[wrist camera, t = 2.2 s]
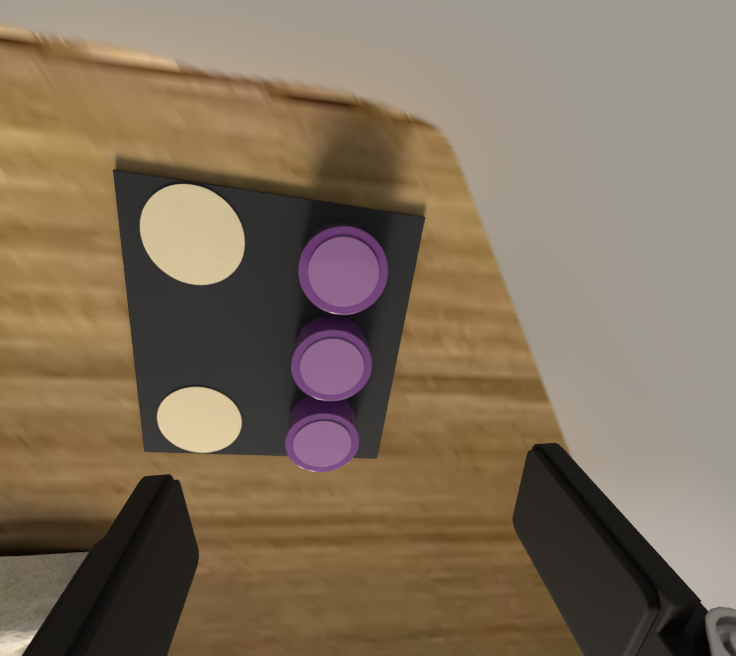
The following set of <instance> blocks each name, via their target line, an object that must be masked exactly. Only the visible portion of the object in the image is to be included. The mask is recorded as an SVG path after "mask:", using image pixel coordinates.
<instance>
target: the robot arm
mask: <svg viewBox="0 0 736 656" xmlns="http://www.w3.org/2000/svg"><path fill="white" fill-rule="evenodd" d="M513 525H514V529H515V531H516V533H517V535H518V537H519V539H520V540H521V542H522V544H523V546H524V548H525V549H526V551H527V553H528V555H529V557H530V558H531V560H532V562H533V564H534V566H535V568H536V569H537V571H538V573H539V575H540V577H541V578H542V580H543V582H544V584H545V586H546V588H547V589H548V591H549V593H550V595H551V597H552V598H553V600H554V602H555V604H556V606H557V607H558V609H559V611H560V613H561V615H562V617H563V618H564V620H565V622H566V624H567V626H568V627H569V629H570V631H571V633H572V635H573V636H574V638H575V640H576V642H577V644H578V646H579V647H580V649H581V651H582V653H583V655H584V656H736V610H735V609H732V608H725V607H717V608H713V609H710V611H709V612H708V611H707V609H706V608H705V607H704V606H703V605H702V604H701V603H700V602H701V600H700V599H699V598H698V597H697V596H696V594H695V593H694V592H693V591H692V590H691V589H690V588H689V587H688V586H687V585H686V583H685V582H684V581H683V580H682V579H681V578H680V577H679V576H678V575H677V574H676V572H675V571H674V570H673V569H672V568H671V567H670V566H669V565H668V564H667V563H666V561H665V560H664V559H663V558H662V557H661V556H660V555H659V554H658V553H657V552H656V550H655V549H654V548H653V547H652V546H651V545H650V544H649V543H648V542H647V541H646V540H645V538H644V537H643V536H642V535H641V534H640V533H639V532H638V531H637V530H636V528H635V527H634V526H633V525H632V524H631V523H630V522H629V521H628V520H627V519H626V518H625V516H624V515H623V514H622V513H621V512H620V511H619V510H618V509H617V508H616V506H615V505H614V504H613V503H612V502H611V501H610V500H609V499H608V498H607V496H605V494H604V493H603V492H602V491H601V490H600V489H599V488H598V487H597V486H596V484H595V483H594V482H593V481H592V480H591V479H590V478H589V477H588V476H587V474H586V473H585V472H584V471H583V470H582V469H581V468H580V467H579V466H578V465H577V463H576V462H575V461H574V460H573V459H572V458H571V457H570V456H569V455H568V454H567V452H566V451H565V450H564V449H563V448H562V447H561V446H560V445H559V444H557V443H546V444H535V445H534V446H533V448H532V450H529V451H528V453H527V457H526V461H525V466H524V470H523V474H522V479H521V483H520V488H519V492H518V496H517V501H516V505H515V509H514V514H513ZM198 559H199V550H198V546H197V543H196V539H195V535H194V532H193V528H192V524H191V521H190V517H189V513H188V510H187V506H186V502H185V499H184V495H183V492H182V488H181V484H180V482H179V480H174V479H173V477H172V476H171V475H170V474H167V475H154V476H145V477H143V478H142V479H141V480H140V482H139V483H138V485H137V486H136V488H135V489H134V491H133V493H132V494H131V496H130V497H129V499H128V500H127V502H126V504H125V505H124V507H123V508H122V510H121V511H120V513H119V515H118V516H117V518H116V519H115V521H114V523H113V524H112V526H111V527H110V529H109V530H108V532H107V534H106V535H105V537H104V538H103V539H101V540H100V541H98V542H97V543H96V544H95V545H94V546H93V547H92V549H91V550H90V551H89V553H88V554H87V556H86V557H85V559H84V560H83V562H82V563H81V565H80V567H79V568H78V570H77V571H76V573H75V574H74V576H73V577H72V579H71V580H70V582H69V583H68V585H67V587H66V588H65V590H64V591H63V593H62V594H61V596H60V597H59V599H58V600H57V602H56V603H55V605H54V607H53V608H52V610H51V611H50V613H49V614H48V616H47V617H46V619H45V620H44V622H43V623H42V625H41V627H40V628H39V630H38V631H37V633H36V634H35V636H34V637H33V639H32V640H31V642H30V643H29V645H28V647H27V648H26V650H25V651H24V653H23V654H22V656H167V654H168V651H169V648H170V645H171V642H172V639H173V636H174V633H175V630H176V627H177V624H178V621H179V618H180V615H181V612H182V610H183V607H184V604H185V601H186V598H187V595H188V592H189V589H190V586H191V583H192V580H193V577H194V574H195V571H196V568H197V565H198Z"/></svg>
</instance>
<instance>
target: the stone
mask: <svg viewBox="0 0 736 656" xmlns="http://www.w3.org/2000/svg"><path fill="white" fill-rule="evenodd" d="M88 553H89V552H76V553H63V554H46V555H30V556H7V557H0V656H22V654H23V653H24V651H25V650H26V648H27V647H28V645H29V643H30V642H31V640H32V639H33V637H34V636H35V634H36V633H37V631H38V630H39V628H40V627H41V625H42V623H43V622H44V620H45V619H46V617H47V616H48V614H49V613H50V611H51V610H52V608H53V607H54V605H55V603H56V602H57V600H58V599H59V597H60V596H61V594H62V593H63V591H64V590H65V588H66V587H67V585H68V583H69V582H70V580H71V579H72V577H73V576H74V574H75V573H76V571H77V570H78V568H79V567H80V565H81V563H82V562H83V560H84V559H85V557H86V556H87V554H88Z"/></svg>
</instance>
